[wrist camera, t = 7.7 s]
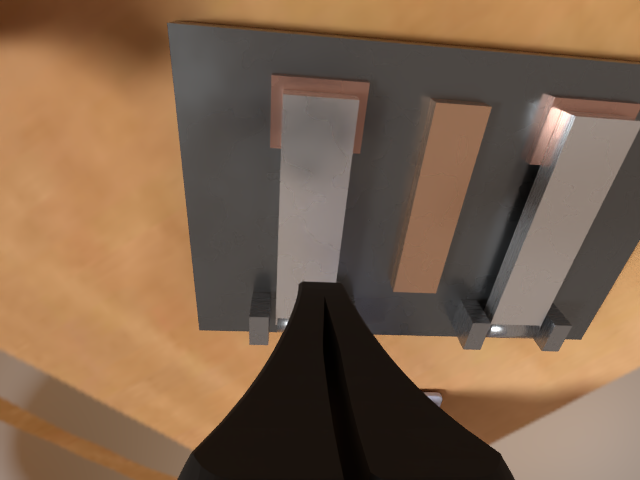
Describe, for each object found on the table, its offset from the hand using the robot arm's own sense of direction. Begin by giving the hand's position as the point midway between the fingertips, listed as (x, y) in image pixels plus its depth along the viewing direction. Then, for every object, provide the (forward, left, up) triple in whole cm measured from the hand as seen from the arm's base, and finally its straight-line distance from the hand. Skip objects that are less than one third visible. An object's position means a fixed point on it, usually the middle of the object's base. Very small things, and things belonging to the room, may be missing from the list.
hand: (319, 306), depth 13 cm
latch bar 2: (-1, -12, -8) cm, 14 cm away
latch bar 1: (-1, 0, -8) cm, 8 cm away
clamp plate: (-1, -6, -9) cm, 11 cm away
